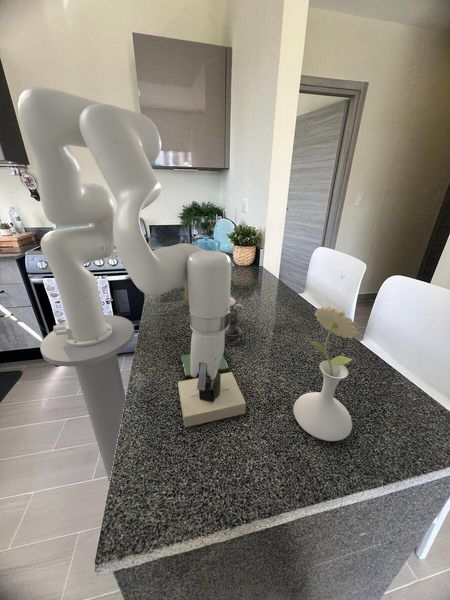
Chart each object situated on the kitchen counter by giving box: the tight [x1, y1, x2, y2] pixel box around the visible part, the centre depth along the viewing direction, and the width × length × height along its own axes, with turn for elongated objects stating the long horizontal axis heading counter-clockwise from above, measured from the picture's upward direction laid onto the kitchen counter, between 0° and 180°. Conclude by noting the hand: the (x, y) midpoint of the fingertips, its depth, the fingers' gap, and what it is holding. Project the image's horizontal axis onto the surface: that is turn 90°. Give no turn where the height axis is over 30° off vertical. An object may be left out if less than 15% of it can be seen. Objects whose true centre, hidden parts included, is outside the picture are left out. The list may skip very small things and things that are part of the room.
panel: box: [177, 371, 247, 428], centre depth 56 cm, size 13×10×3 cm
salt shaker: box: [224, 306, 243, 346], centre depth 76 cm, size 6×6×12 cm
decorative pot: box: [191, 236, 222, 252], centre depth 160 cm, size 16×16×14 cm
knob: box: [206, 371, 221, 398], centre depth 54 cm, size 4×4×5 cm
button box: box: [180, 353, 230, 381], centre depth 66 cm, size 11×8×4 cm
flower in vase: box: [293, 305, 359, 442], centre depth 48 cm, size 13×11×25 cm
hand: (210, 390), depth 55 cm, fingers closed on knob, 4 cm apart
